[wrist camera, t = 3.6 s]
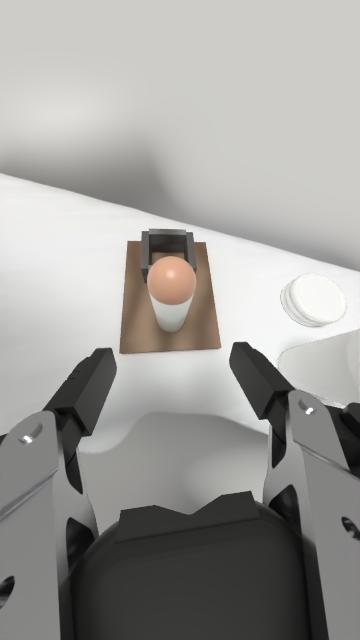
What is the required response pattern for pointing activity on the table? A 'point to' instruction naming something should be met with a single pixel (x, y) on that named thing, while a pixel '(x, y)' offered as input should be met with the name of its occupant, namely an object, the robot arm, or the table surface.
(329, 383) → the foam cup
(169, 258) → the orange-capped post
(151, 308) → the jig board
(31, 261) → the table surface
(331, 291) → the coaster
